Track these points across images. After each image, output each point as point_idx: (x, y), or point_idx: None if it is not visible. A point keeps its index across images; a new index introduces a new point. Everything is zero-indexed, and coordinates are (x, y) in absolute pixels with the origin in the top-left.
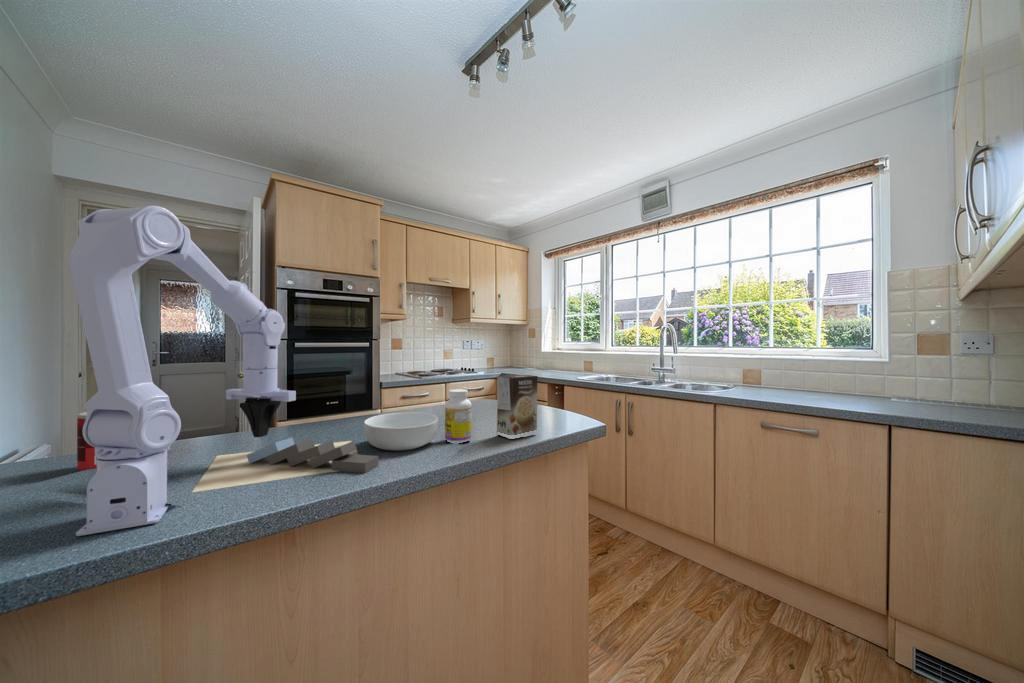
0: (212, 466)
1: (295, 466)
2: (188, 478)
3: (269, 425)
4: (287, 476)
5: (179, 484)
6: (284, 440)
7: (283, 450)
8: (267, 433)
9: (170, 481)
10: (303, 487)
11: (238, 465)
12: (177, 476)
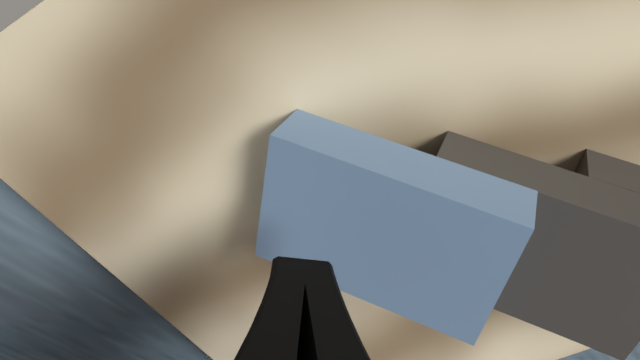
0: (118, 265)
1: None
2: (107, 309)
3: (350, 321)
4: (566, 340)
5: (144, 352)
6: (503, 286)
7: (520, 314)
8: (333, 272)
9: (72, 335)
10: (634, 350)
11: (243, 249)
12: (30, 295)
